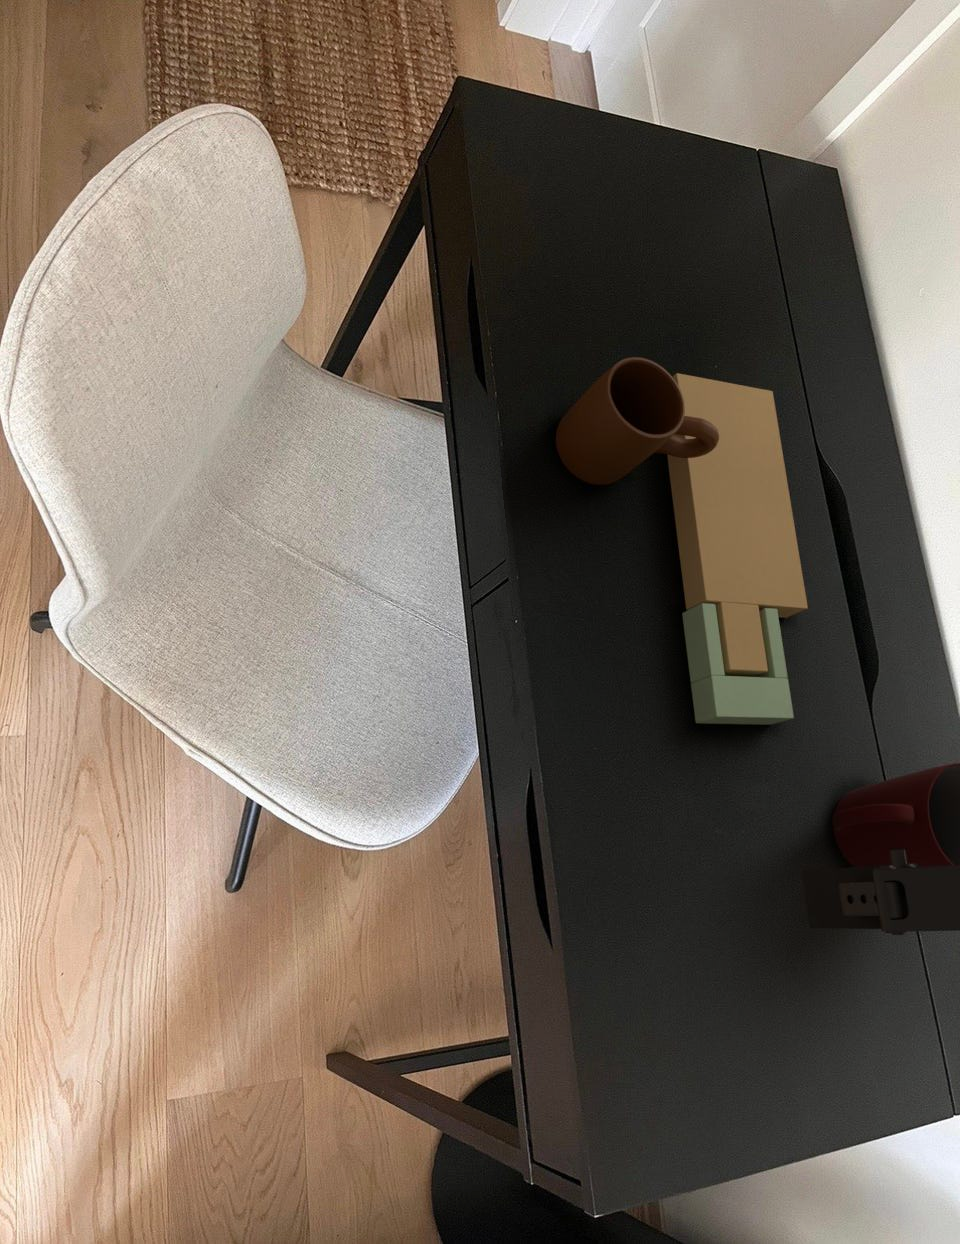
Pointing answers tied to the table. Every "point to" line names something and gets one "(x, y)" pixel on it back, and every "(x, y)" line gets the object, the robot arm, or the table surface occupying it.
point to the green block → (732, 694)
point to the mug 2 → (902, 819)
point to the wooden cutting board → (736, 519)
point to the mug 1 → (629, 423)
